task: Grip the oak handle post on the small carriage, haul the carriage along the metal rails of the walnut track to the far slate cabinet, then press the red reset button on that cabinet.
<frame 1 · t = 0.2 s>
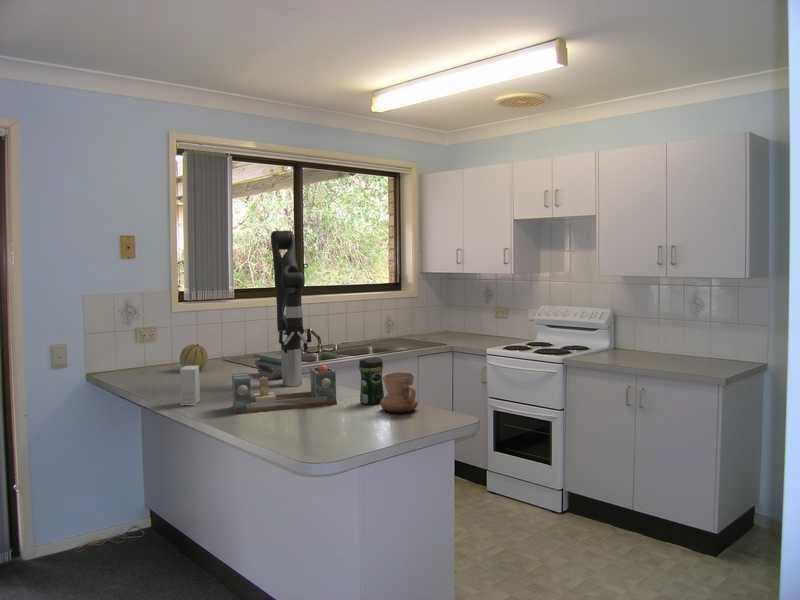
hand: (295, 352, 288), 17 cm above the table, tool pointing down, fingers open, 8 cm apart
cantaloupe: (194, 371, 347), on the table
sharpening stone: (273, 377, 325), on the table
skincare box: (191, 404, 266), on the table
coffee jar: (372, 403, 261), on the table
carriage: (264, 390, 256), point 7 cm above the table, slide at 0.0 cm
rail track: (284, 405, 259), on the table
reset button: (322, 370, 264), point 13 cm above the table, slide at 0.0 cm
ceramic jug: (400, 411, 246), on the table
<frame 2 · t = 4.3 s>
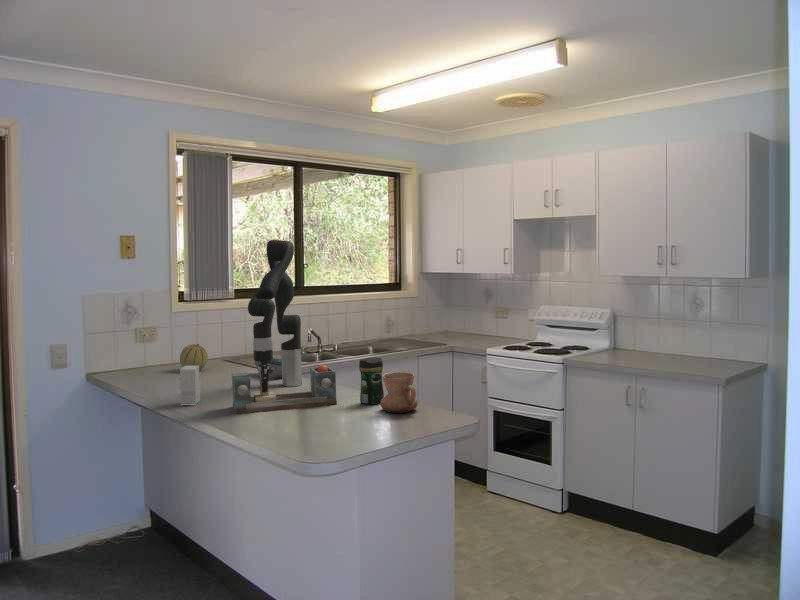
hand: (264, 391, 256), 7 cm above the table, tool pointing down, fingers closed on carriage, 3 cm apart
carriage: (264, 390, 256), point 7 cm above the table, slide at 0.0 cm, touching gripper
everything else where it was.
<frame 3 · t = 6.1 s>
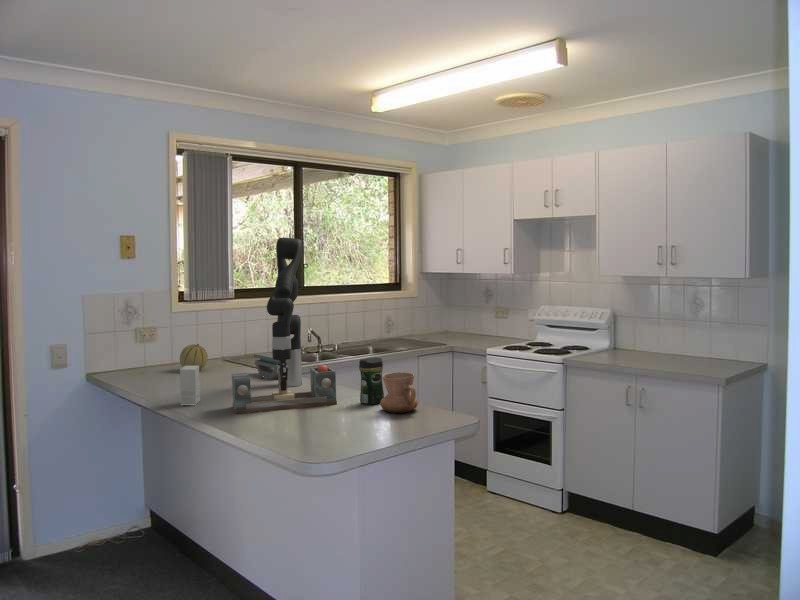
hand: (283, 389, 259), 7 cm above the table, tool pointing down, fingers closed on carriage, 3 cm apart
carriage: (282, 388, 259), point 7 cm above the table, slide at 7.4 cm, touching gripper
everything else where it was.
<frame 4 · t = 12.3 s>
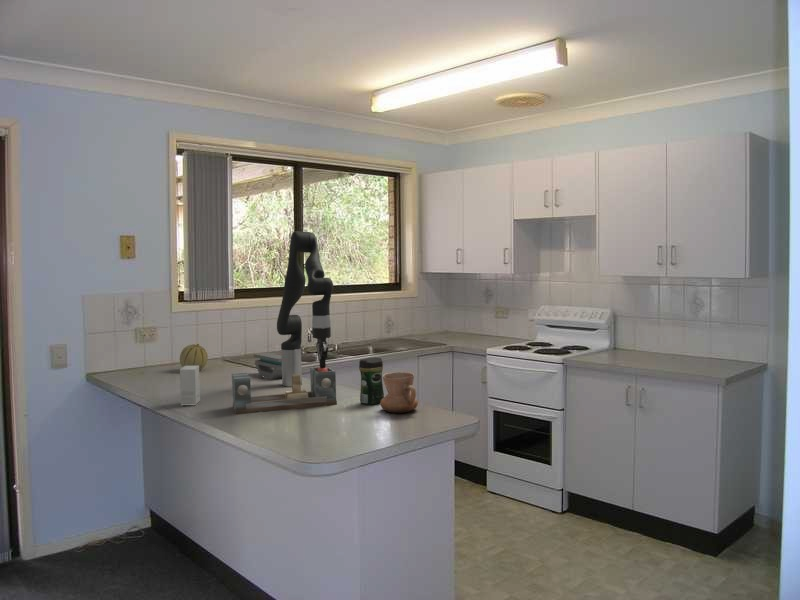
hand: (322, 367, 264), 14 cm above the table, tool pointing down, fingers closed
carriage: (296, 387, 260), point 7 cm above the table, slide at 12.9 cm
reset button: (322, 372, 264), point 12 cm above the table, slide at 0.8 cm, touching gripper
everything else where it was.
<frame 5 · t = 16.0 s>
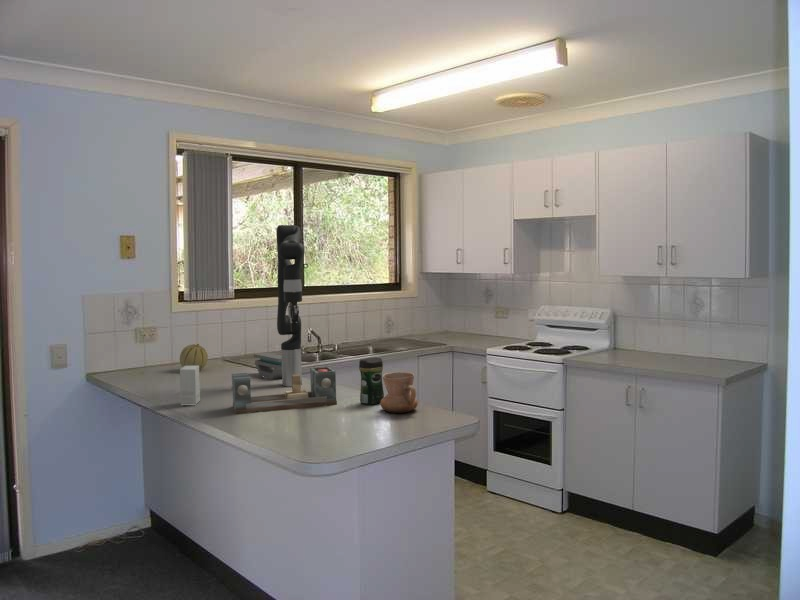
hand: (294, 331, 267), 29 cm above the table, tool pointing down, fingers closed
reset button: (322, 374, 264), point 11 cm above the table, slide at 1.6 cm
everything else where it was.
at the end: carriage slide at 12.9 cm; reset button slide at 1.6 cm; the gripper is holding nothing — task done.
